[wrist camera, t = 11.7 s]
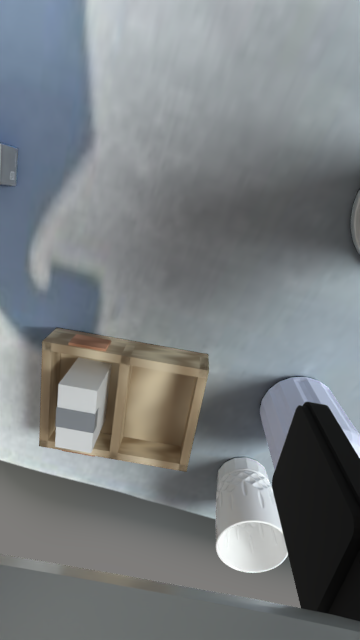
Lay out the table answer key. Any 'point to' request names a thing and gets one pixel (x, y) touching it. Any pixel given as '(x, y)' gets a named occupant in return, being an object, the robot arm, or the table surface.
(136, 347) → the wooden compartment tray
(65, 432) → the grey banded white block
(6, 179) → the label tape box
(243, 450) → the table surface
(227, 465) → the white cup
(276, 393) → the spray bottle
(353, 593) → the robot arm
